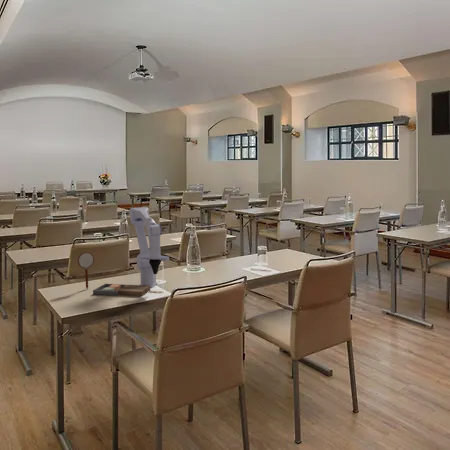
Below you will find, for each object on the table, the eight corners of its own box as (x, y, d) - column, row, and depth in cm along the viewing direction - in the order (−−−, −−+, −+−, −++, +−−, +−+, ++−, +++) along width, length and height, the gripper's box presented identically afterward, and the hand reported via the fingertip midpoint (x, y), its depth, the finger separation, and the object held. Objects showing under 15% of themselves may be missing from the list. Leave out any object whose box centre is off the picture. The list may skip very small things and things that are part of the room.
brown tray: (127, 289, 259) (127, 284, 259) (150, 290, 257) (150, 285, 256) (117, 295, 248) (117, 290, 247) (141, 296, 245) (141, 291, 245)
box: (105, 287, 263) (105, 283, 263) (127, 288, 260) (127, 284, 260) (93, 294, 249) (92, 290, 249) (116, 295, 247) (116, 291, 246)
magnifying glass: (94, 287, 263) (92, 251, 260) (95, 288, 262) (94, 251, 259) (78, 290, 258) (76, 253, 255) (79, 290, 257) (78, 253, 254)
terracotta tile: (120, 284, 259) (120, 288, 259) (112, 284, 260) (112, 288, 260) (117, 286, 255) (117, 290, 255) (109, 286, 255) (109, 290, 256)
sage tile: (114, 287, 253) (114, 291, 253) (106, 287, 254) (106, 290, 254) (110, 289, 249) (110, 293, 249) (102, 289, 250) (102, 293, 250)
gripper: (138, 248, 249) (139, 274, 251) (165, 249, 246) (166, 276, 248) (143, 246, 256) (144, 271, 258) (170, 247, 253) (170, 273, 255)
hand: (155, 273), depth 253 cm, fingers closed
